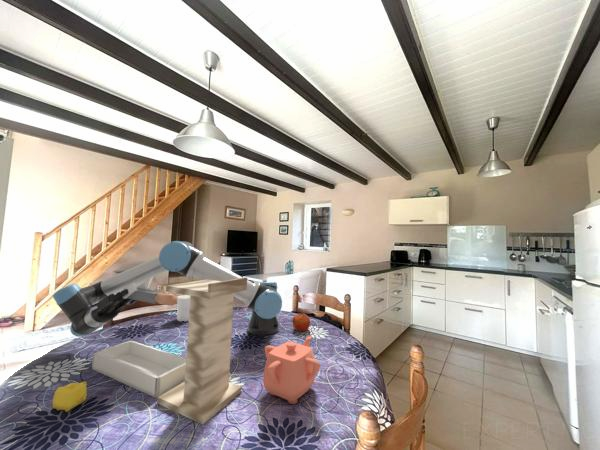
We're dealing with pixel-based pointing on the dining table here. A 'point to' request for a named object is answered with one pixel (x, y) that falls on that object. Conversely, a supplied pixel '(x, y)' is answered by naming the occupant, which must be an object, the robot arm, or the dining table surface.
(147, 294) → the grey long square-ended piece
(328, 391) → the dining table surface
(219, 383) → the wooden pedestal stand
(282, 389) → the teapot
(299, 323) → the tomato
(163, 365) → the tray
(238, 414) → the dining table surface
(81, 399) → the toy block
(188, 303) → the candle holder
